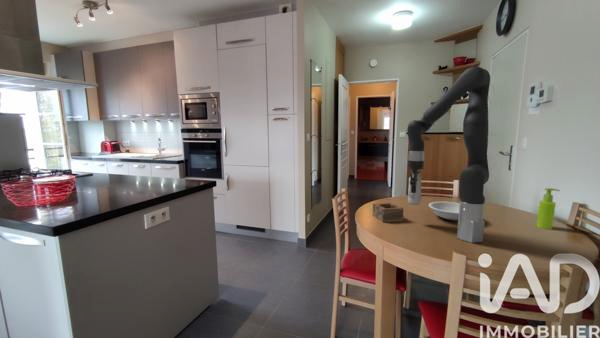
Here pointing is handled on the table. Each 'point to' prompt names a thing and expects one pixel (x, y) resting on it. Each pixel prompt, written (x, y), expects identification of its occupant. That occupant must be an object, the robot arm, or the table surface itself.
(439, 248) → the table surface
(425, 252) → the table surface
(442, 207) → the white vessel sink
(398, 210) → the square wooden frame
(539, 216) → the soap dispenser
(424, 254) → the table surface
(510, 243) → the table surface
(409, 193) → the energy drink can
